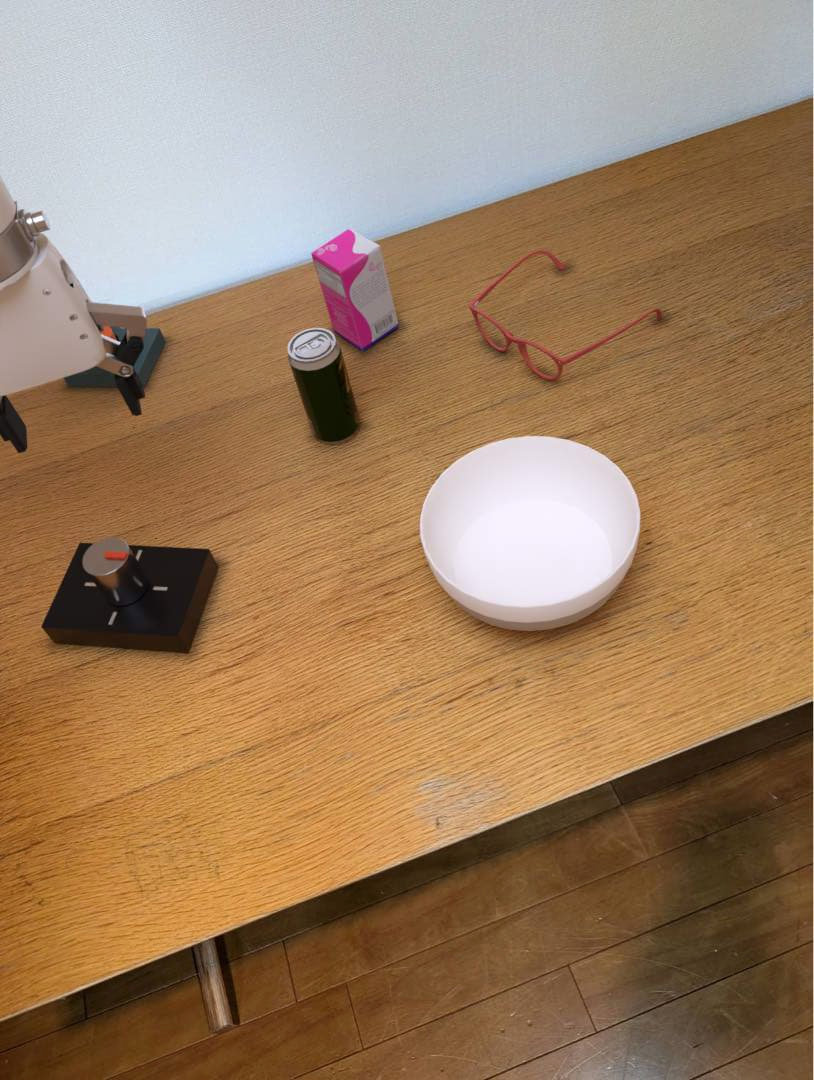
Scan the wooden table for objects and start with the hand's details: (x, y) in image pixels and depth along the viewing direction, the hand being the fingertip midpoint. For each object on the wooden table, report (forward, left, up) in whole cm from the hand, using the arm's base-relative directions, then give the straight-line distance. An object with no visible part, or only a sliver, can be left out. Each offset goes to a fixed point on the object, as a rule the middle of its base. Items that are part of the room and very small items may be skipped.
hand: (79, 422), depth 81 cm
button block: (-17, +30, -22) cm, 41 cm away
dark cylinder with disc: (-2, -4, -19) cm, 19 cm away
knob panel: (-2, -4, -22) cm, 22 cm away
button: (-17, +29, -18) cm, 38 cm away
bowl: (+36, +2, -22) cm, 42 cm away
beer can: (+13, +20, -22) cm, 33 cm away
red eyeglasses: (+36, +36, -22) cm, 56 cm away
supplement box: (+13, +36, -22) cm, 44 cm away
